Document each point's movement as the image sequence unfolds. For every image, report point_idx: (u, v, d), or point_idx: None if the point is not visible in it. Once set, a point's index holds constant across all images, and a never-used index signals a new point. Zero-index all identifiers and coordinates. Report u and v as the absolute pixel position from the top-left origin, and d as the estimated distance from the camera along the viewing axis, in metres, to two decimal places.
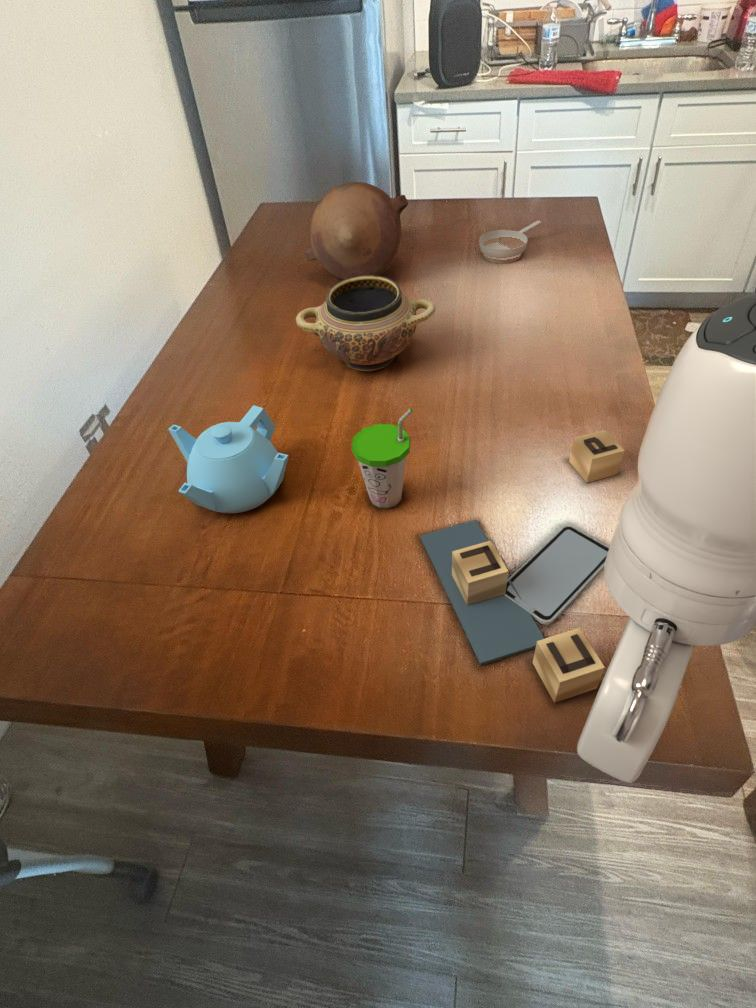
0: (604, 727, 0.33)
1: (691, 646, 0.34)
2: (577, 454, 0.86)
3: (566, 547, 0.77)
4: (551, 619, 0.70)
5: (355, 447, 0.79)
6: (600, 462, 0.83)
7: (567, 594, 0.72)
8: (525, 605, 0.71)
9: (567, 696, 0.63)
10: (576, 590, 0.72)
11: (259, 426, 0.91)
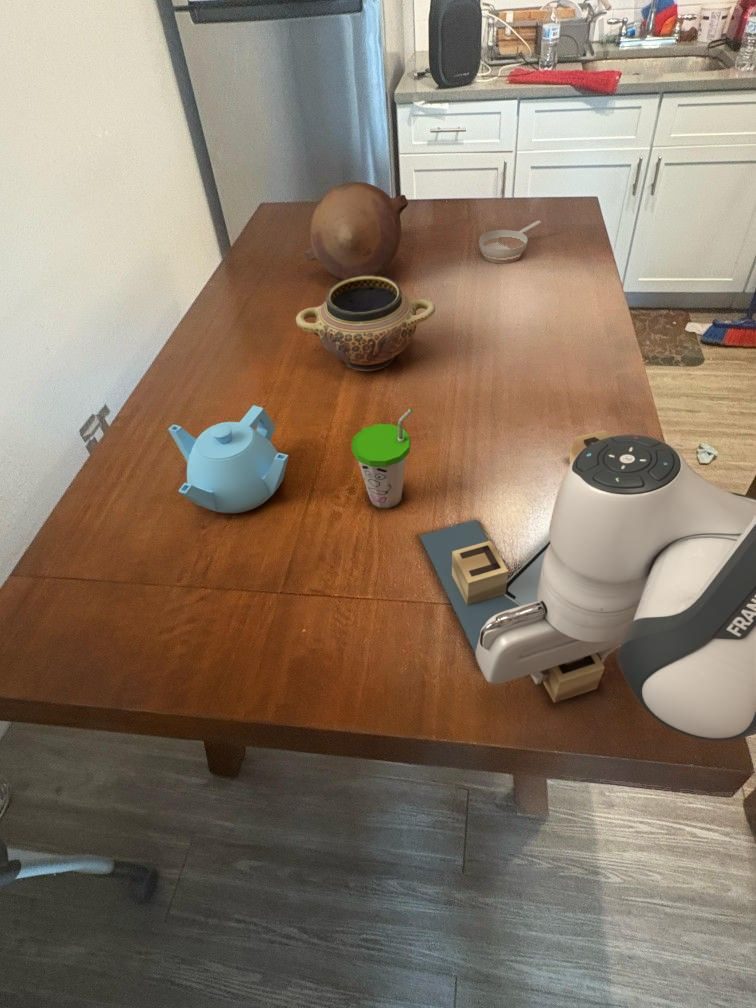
0: None
1: (555, 629, 0.54)
2: (577, 454, 0.86)
3: None
4: None
5: (355, 447, 0.79)
6: None
7: None
8: None
9: (567, 696, 0.63)
10: None
11: (259, 426, 0.91)
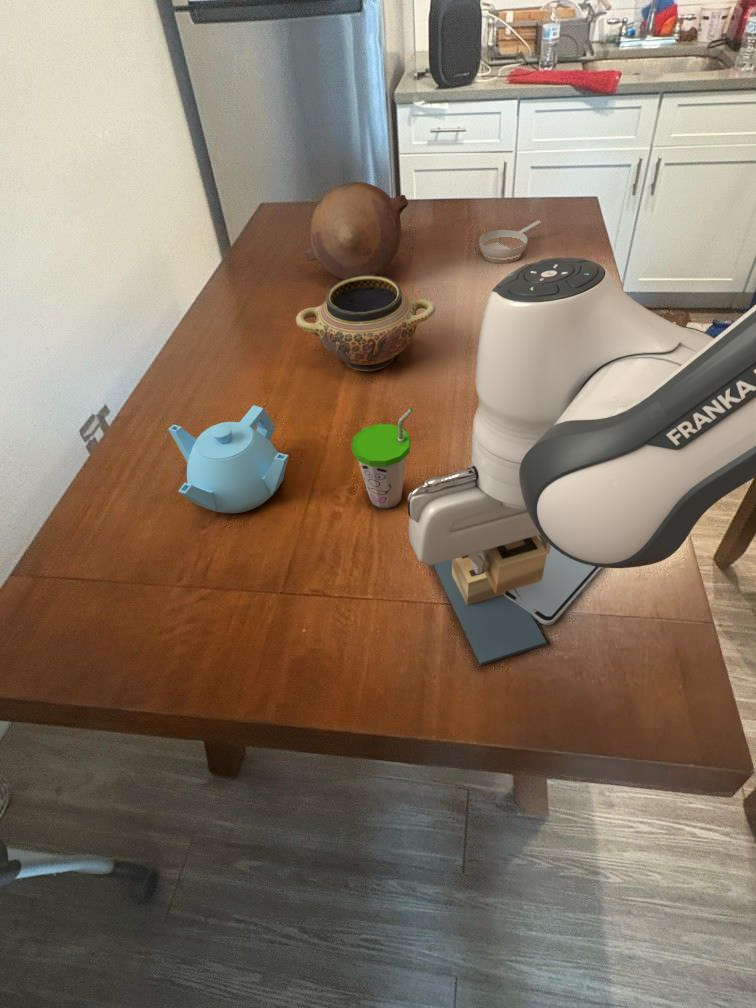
0: None
1: (487, 495, 0.50)
2: None
3: None
4: (553, 619, 0.70)
5: (355, 447, 0.79)
6: None
7: (568, 594, 0.72)
8: (527, 605, 0.71)
9: (509, 587, 0.60)
10: (577, 590, 0.73)
11: (259, 426, 0.91)
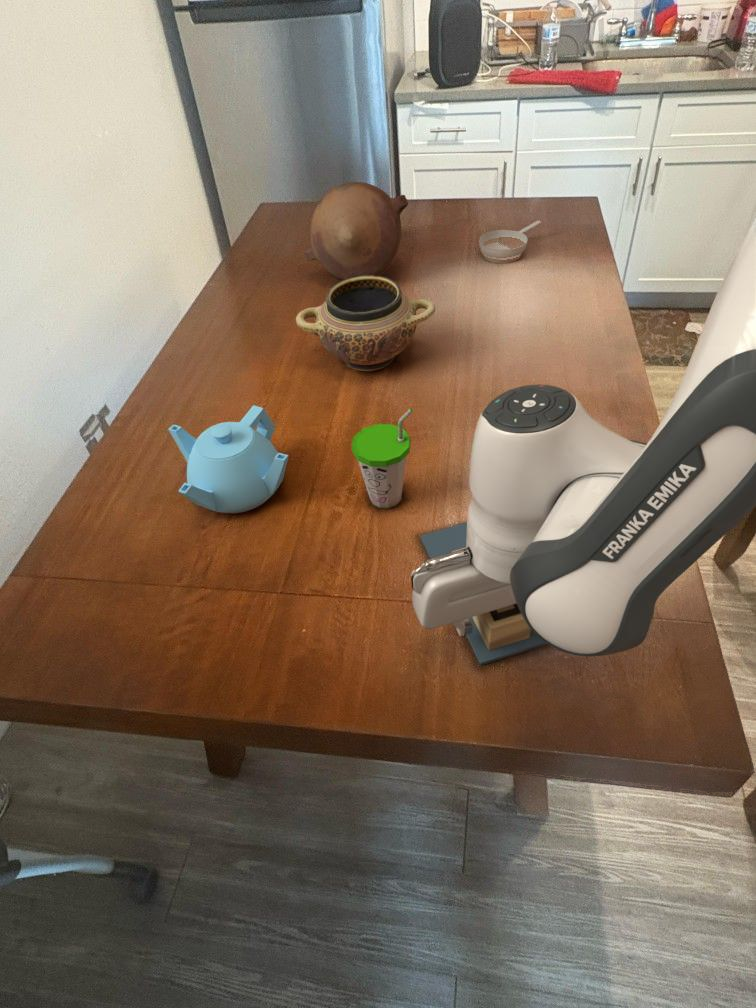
0: None
1: (480, 572, 0.58)
2: None
3: None
4: None
5: (355, 447, 0.79)
6: None
7: None
8: None
9: (500, 644, 0.67)
10: None
11: (259, 426, 0.91)
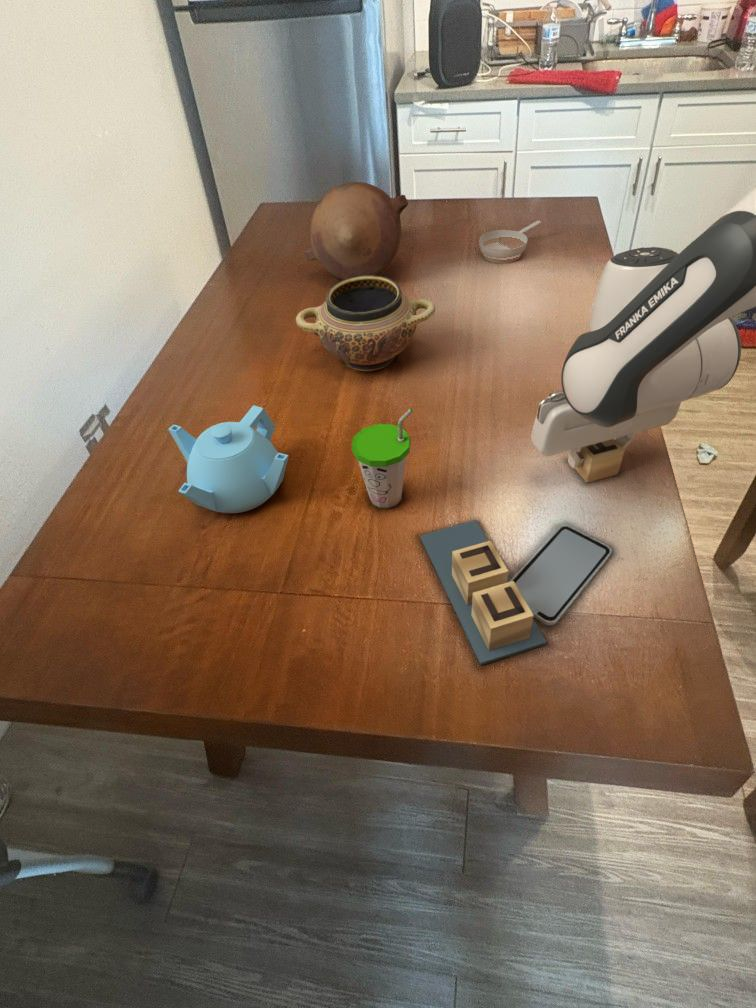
0: None
1: None
2: None
3: (564, 547, 0.77)
4: (555, 620, 0.70)
5: (355, 447, 0.79)
6: (600, 462, 0.83)
7: (569, 594, 0.72)
8: (529, 606, 0.71)
9: (500, 644, 0.67)
10: (578, 589, 0.73)
11: (259, 426, 0.91)
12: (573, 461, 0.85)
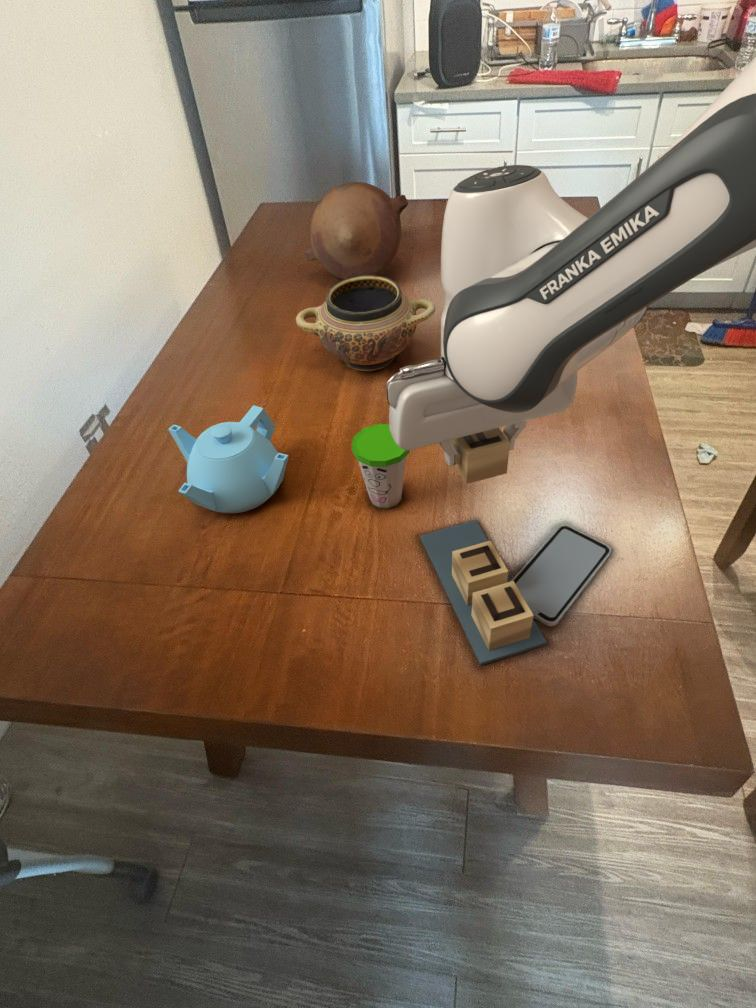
0: None
1: (454, 382, 0.59)
2: None
3: (564, 547, 0.77)
4: (556, 620, 0.70)
5: (355, 447, 0.79)
6: (479, 458, 0.66)
7: (570, 594, 0.72)
8: (529, 607, 0.71)
9: (500, 644, 0.67)
10: (578, 589, 0.73)
11: (259, 426, 0.91)
12: (448, 457, 0.68)
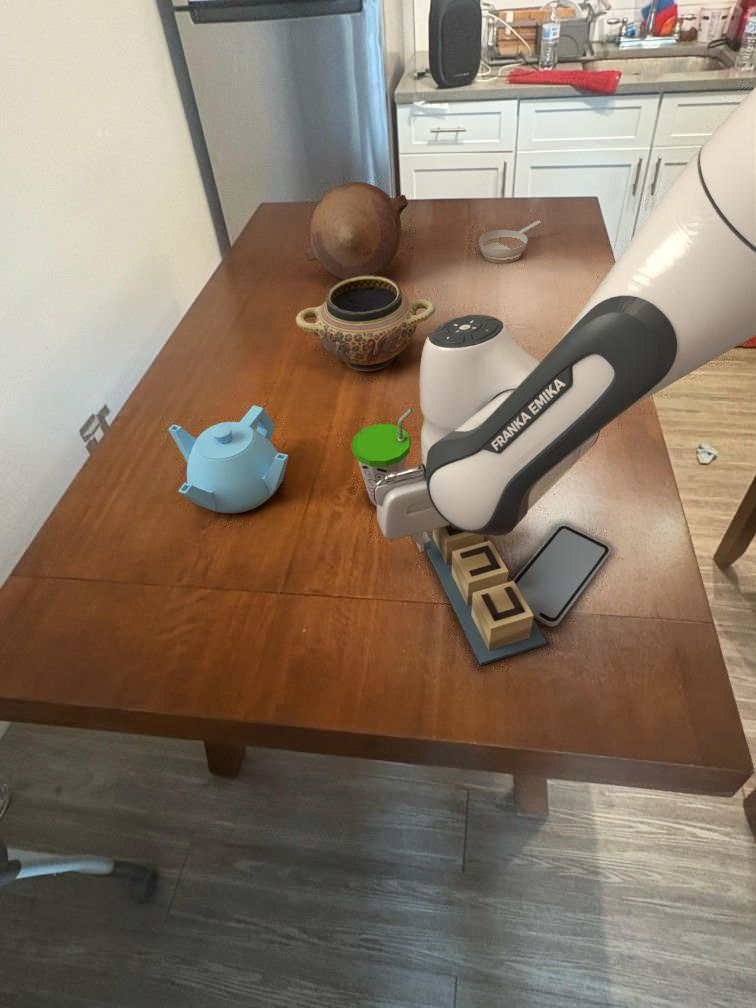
0: None
1: None
2: (436, 532, 0.77)
3: (563, 547, 0.77)
4: (557, 620, 0.70)
5: (355, 447, 0.79)
6: (457, 543, 0.74)
7: (570, 594, 0.72)
8: (530, 608, 0.71)
9: (500, 644, 0.67)
10: (578, 589, 0.73)
11: (259, 426, 0.91)
12: (419, 544, 0.75)
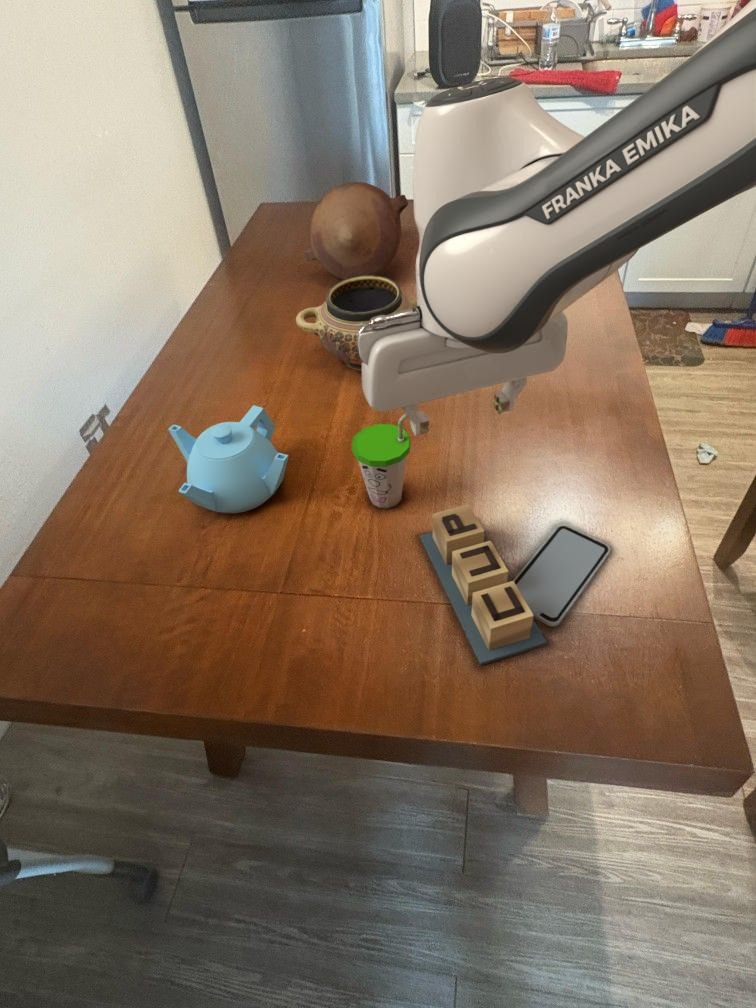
0: None
1: (431, 334, 0.54)
2: (436, 532, 0.77)
3: (563, 547, 0.77)
4: (558, 620, 0.70)
5: (355, 447, 0.79)
6: (457, 543, 0.74)
7: (571, 594, 0.72)
8: (531, 608, 0.71)
9: (500, 644, 0.67)
10: (579, 589, 0.73)
11: (259, 426, 0.91)
12: (414, 425, 0.62)
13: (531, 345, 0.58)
